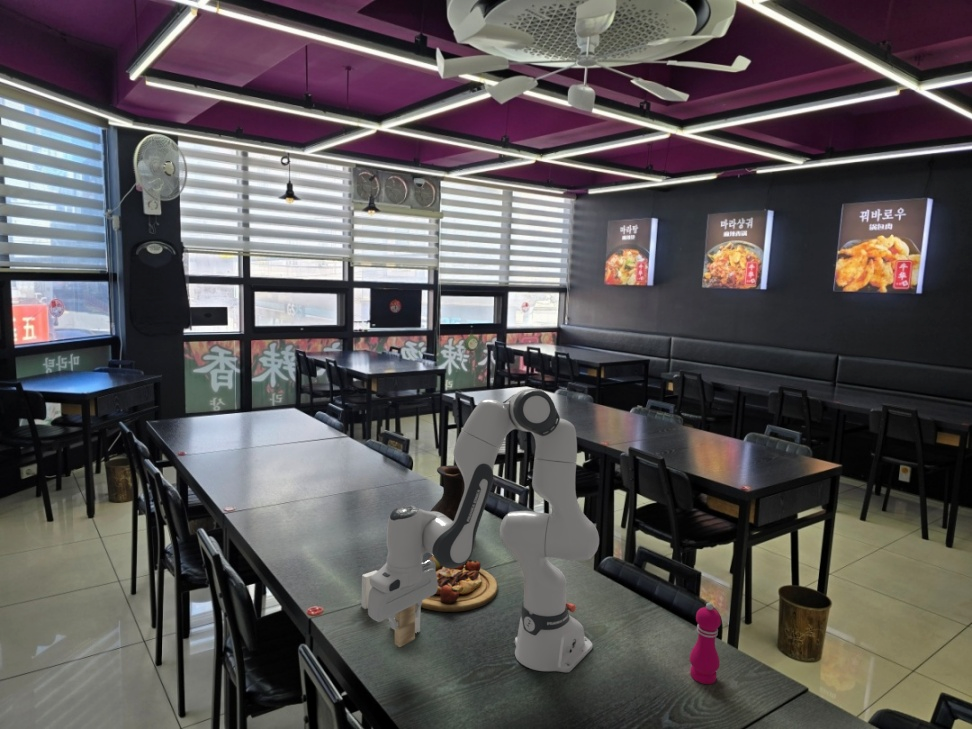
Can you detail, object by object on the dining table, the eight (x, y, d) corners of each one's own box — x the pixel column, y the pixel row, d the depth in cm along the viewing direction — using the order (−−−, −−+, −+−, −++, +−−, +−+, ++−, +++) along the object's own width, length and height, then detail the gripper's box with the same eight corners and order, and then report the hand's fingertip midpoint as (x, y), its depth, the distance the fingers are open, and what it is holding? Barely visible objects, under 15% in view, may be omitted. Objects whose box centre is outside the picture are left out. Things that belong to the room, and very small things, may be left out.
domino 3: (415, 628, 178) (416, 595, 177) (419, 631, 177) (420, 597, 176) (401, 634, 175) (402, 600, 174) (405, 637, 173) (406, 603, 172)
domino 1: (375, 601, 192) (376, 570, 191) (379, 603, 191) (379, 572, 190) (361, 606, 189) (362, 574, 188) (365, 609, 188) (365, 577, 186)
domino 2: (409, 635, 162) (409, 599, 160) (414, 638, 161) (415, 602, 159) (394, 644, 158) (394, 607, 157) (399, 647, 157) (399, 610, 155)
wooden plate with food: (486, 621, 184) (488, 594, 183) (383, 604, 190) (384, 578, 189) (505, 575, 216) (506, 552, 215) (415, 562, 222) (416, 539, 221)
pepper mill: (711, 668, 165) (718, 596, 163) (722, 685, 158) (729, 610, 156) (684, 667, 165) (690, 595, 162) (694, 685, 158) (701, 610, 155)
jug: (422, 531, 248) (425, 457, 244) (465, 525, 256) (468, 453, 252) (442, 552, 229) (444, 472, 225) (487, 545, 237) (491, 468, 233)
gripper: (426, 553, 166) (426, 602, 168) (363, 580, 151) (364, 633, 153) (443, 561, 162) (442, 611, 164) (380, 590, 147) (380, 644, 149)
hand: (404, 622), depth 159 cm, fingers closed on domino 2, 5 cm apart
